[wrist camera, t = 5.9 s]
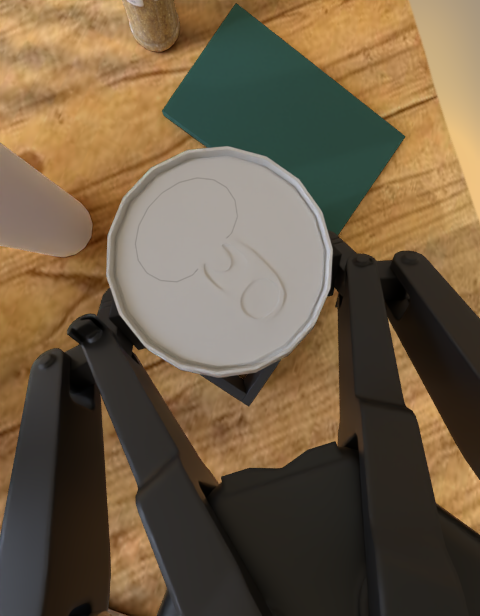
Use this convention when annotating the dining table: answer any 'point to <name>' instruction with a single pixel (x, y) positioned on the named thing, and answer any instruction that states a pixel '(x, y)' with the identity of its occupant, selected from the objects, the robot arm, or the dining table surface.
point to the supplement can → (219, 261)
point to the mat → (284, 115)
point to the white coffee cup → (38, 211)
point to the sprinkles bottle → (153, 23)
